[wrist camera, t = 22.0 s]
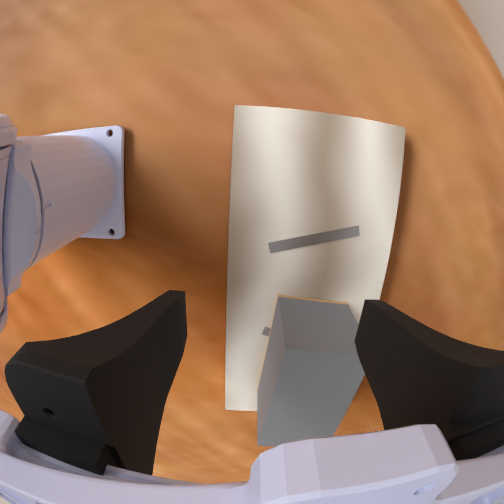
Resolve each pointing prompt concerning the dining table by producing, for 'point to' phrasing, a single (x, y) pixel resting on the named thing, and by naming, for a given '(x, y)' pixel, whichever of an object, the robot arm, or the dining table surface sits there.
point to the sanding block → (307, 370)
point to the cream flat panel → (303, 223)
